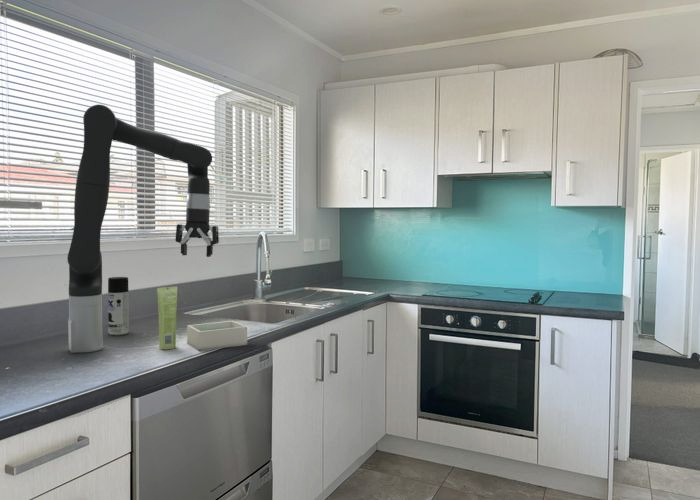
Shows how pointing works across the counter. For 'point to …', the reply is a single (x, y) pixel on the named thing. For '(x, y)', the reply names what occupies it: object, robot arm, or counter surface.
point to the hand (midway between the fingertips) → (196, 256)
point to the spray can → (118, 306)
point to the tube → (167, 316)
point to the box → (216, 335)
